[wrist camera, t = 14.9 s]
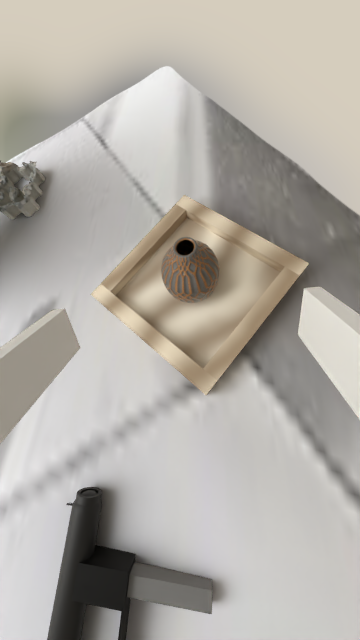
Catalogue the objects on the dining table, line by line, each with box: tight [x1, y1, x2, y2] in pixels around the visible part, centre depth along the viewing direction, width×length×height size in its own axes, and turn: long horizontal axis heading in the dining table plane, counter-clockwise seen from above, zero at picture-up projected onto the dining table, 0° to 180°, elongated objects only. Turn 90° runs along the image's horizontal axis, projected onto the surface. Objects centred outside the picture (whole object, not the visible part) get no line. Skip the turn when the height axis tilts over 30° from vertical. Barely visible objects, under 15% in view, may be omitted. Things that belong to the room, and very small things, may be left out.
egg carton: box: [0, 161, 45, 220], centre depth 40 cm, size 11×8×4 cm
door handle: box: [47, 487, 212, 640], centre depth 21 cm, size 3×20×16 cm
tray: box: [91, 195, 309, 395], centre depth 30 cm, size 20×20×2 cm
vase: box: [161, 237, 220, 303], centre depth 26 cm, size 7×7×9 cm
